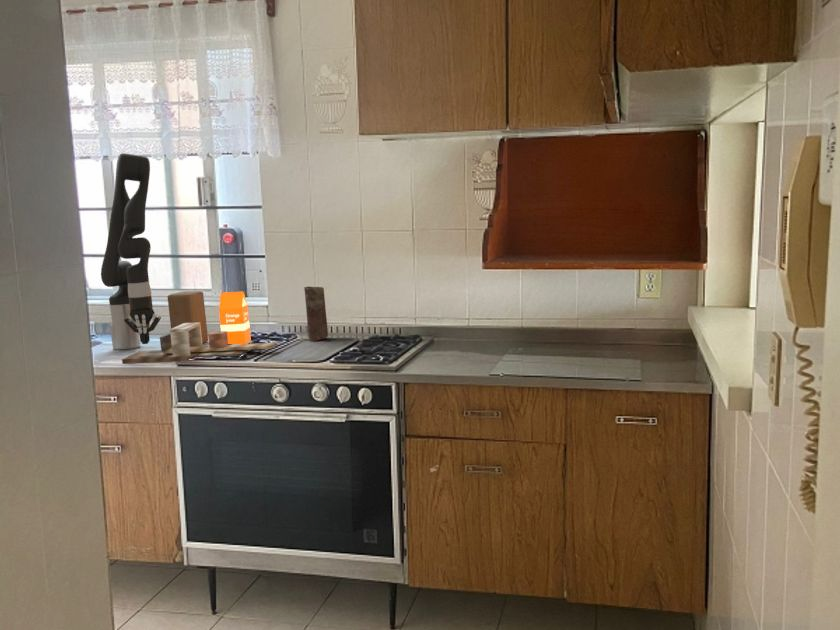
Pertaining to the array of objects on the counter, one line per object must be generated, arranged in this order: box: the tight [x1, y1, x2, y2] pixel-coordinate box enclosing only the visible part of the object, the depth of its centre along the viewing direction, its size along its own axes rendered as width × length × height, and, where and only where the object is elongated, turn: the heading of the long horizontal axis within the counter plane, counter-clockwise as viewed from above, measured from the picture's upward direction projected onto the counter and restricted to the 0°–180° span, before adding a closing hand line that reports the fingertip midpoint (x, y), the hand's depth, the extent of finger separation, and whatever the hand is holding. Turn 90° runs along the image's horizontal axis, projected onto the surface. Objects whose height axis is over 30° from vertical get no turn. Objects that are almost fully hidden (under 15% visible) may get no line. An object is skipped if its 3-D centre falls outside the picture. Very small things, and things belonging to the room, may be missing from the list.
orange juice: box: [218, 291, 252, 344], centre depth 295 cm, size 8×9×20 cm
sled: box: [159, 330, 277, 354], centre depth 279 cm, size 39×7×6 cm, turn 85°
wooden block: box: [167, 290, 209, 345], centre depth 303 cm, size 10×10×20 cm
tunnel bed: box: [121, 322, 248, 365], centre depth 280 cm, size 42×14×11 cm, turn 85°
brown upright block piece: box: [303, 286, 329, 342], centre depth 296 cm, size 8×7×20 cm
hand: (145, 343), depth 282 cm, fingers closed
